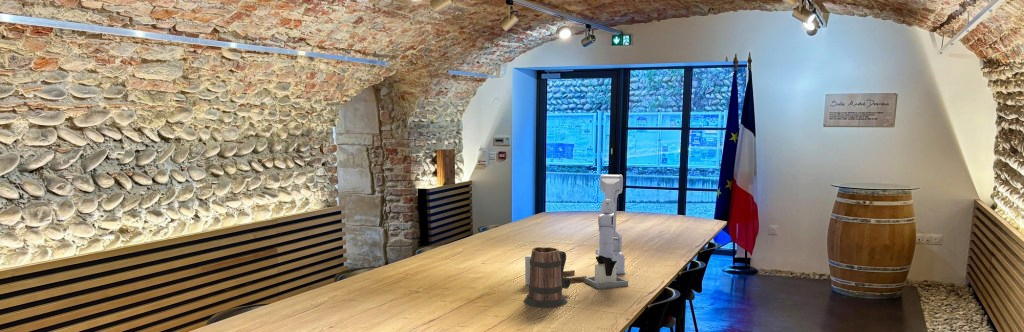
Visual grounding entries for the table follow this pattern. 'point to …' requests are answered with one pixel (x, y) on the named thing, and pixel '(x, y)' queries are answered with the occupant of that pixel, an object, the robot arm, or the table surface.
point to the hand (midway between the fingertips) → (605, 274)
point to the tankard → (547, 278)
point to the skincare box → (527, 269)
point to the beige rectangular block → (604, 274)
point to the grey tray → (618, 283)
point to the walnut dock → (573, 279)
